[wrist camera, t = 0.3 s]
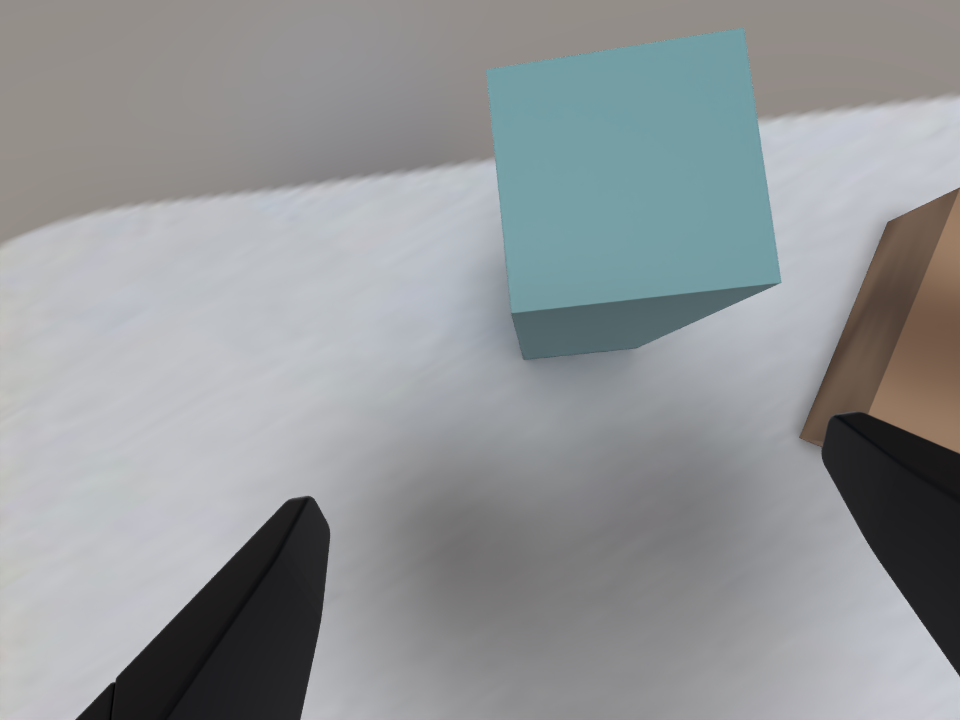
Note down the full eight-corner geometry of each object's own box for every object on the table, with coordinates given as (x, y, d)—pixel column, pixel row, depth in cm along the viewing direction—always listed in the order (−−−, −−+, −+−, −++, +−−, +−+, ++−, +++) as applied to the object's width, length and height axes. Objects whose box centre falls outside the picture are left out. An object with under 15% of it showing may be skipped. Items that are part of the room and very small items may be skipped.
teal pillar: (636, 348, 22) (781, 282, 9) (523, 359, 23) (510, 313, 10) (623, 238, 22) (743, 27, 10) (512, 252, 23) (486, 69, 10)
